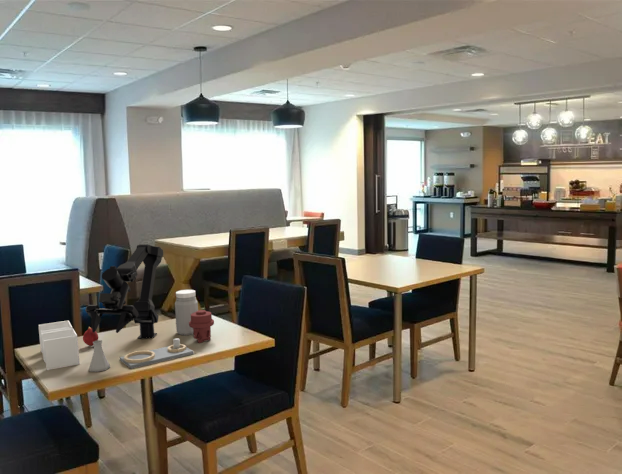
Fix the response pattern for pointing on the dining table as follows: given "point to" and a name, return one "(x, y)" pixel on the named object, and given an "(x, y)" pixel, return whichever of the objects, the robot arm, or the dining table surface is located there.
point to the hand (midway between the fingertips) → (104, 332)
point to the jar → (185, 310)
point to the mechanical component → (201, 325)
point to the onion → (90, 337)
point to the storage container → (59, 344)
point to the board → (156, 355)
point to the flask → (98, 358)
